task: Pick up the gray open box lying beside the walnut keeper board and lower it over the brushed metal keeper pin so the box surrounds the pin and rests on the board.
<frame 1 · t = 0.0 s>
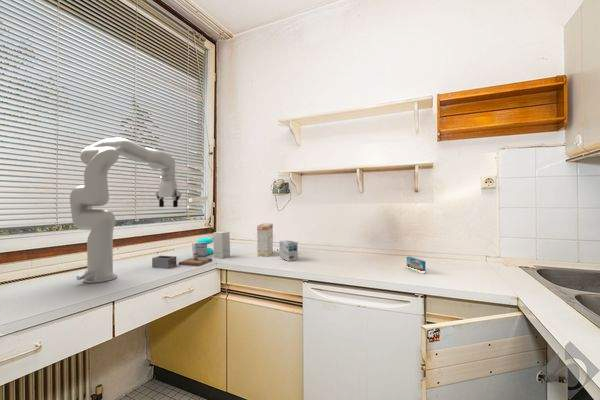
hand: (168, 206, 176), 31 cm above the countertop, tool pointing down, fingers open, 9 cm apart
light bulb box: (288, 259, 175), on the countertop
medicine box: (199, 256, 183), on the countertop
yogurt: (415, 271, 148), on the countertop
donuts: (205, 254, 192), on the countertop
skincare box: (221, 257, 181), on the countertop
gray open box: (164, 266, 157), on the countertop
keeper board: (195, 262, 166), on the countertop
coffeecake box: (265, 254, 190), on the countertop
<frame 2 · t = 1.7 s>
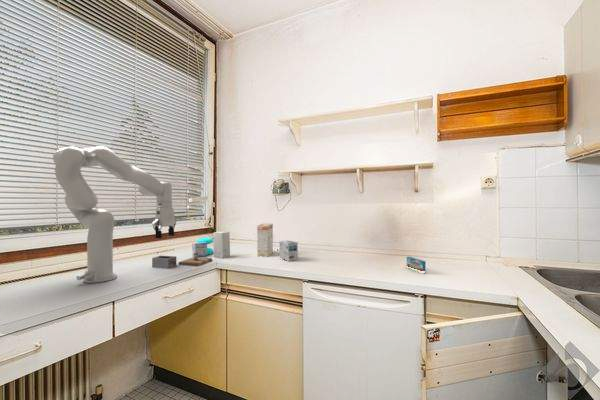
hand: (165, 236, 157), 16 cm above the countertop, tool pointing down, fingers open, 9 cm apart
nothing on the countertop moved.
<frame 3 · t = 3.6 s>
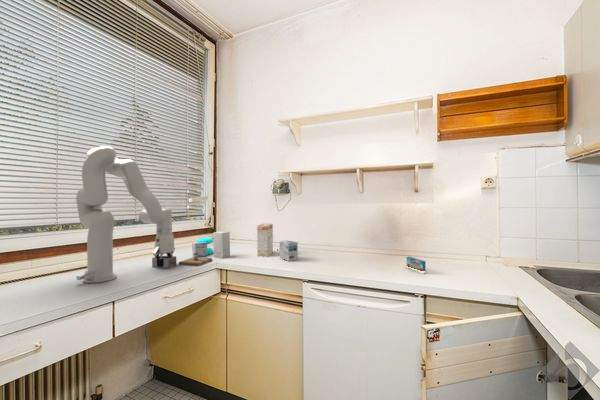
hand: (164, 264, 157), 1 cm above the countertop, tool pointing down, fingers closed on gray open box, 6 cm apart
gray open box: (164, 266, 157), on the countertop, touching gripper
everything else where it was.
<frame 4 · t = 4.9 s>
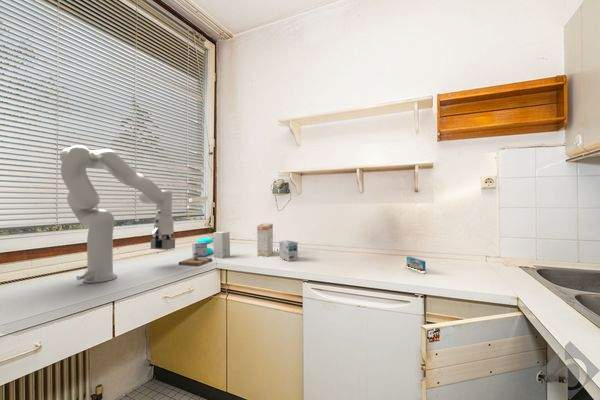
hand: (163, 246, 156), 11 cm above the countertop, tool pointing down, fingers closed on gray open box, 6 cm apart
gray open box: (162, 248, 156), point 10 cm above the countertop, touching gripper
everything else where it was.
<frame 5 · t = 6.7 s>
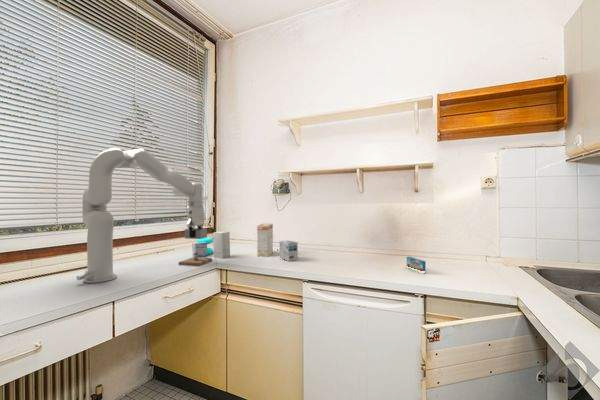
hand: (196, 236, 165), 15 cm above the countertop, tool pointing down, fingers closed on gray open box, 6 cm apart
gray open box: (196, 237, 166), point 14 cm above the countertop, touching gripper
everything else where it was.
when the fingers open (3 cm above the countertop, at t = 9.0 s): gray open box stays where it is, resting on keeper board.
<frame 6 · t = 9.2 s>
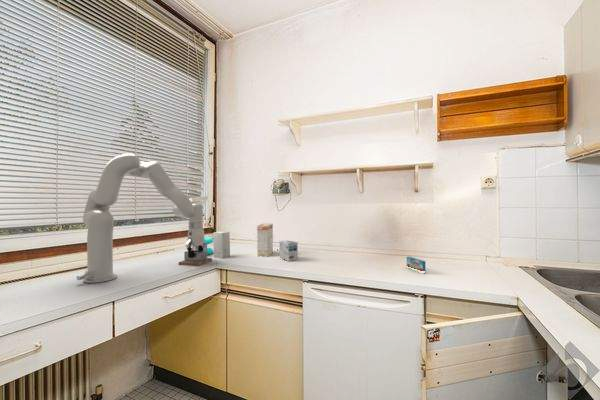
hand: (195, 256, 165), 4 cm above the countertop, tool pointing down, fingers open, 8 cm apart
gray open box: (195, 260, 165), point 1 cm above the countertop, touching keeper board
everything else where it was.
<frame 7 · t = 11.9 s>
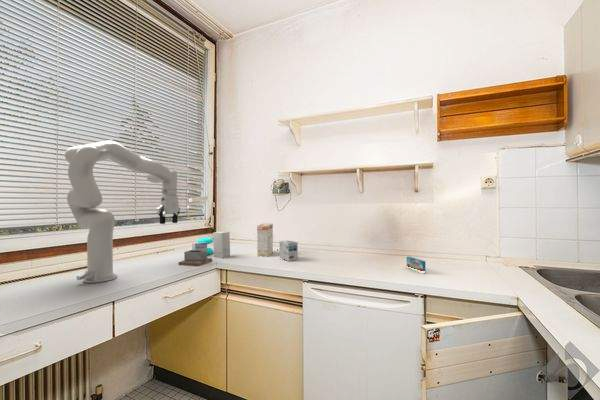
hand: (168, 223, 164), 22 cm above the countertop, tool pointing down, fingers open, 9 cm apart
nothing on the countertop moved.
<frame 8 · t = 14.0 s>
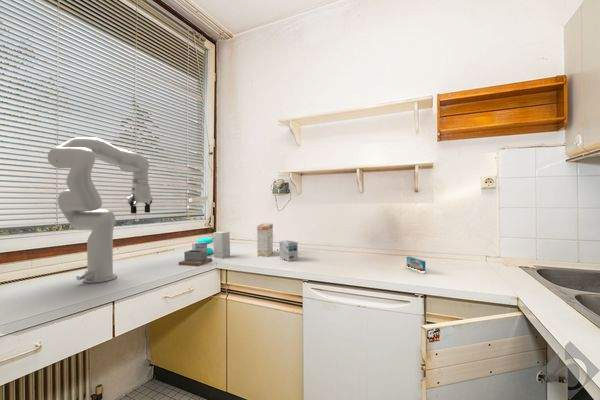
hand: (140, 213, 163), 28 cm above the countertop, tool pointing down, fingers open, 9 cm apart
nothing on the countertop moved.
at the end: gray open box 0.1 cm from the keeper board (horizontally); gray open box point 1.5 cm above the countertop; the gripper is holding nothing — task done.
